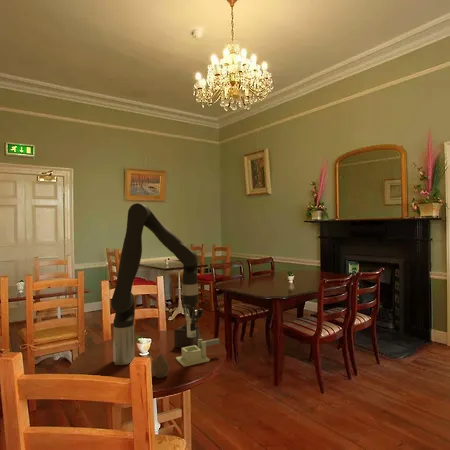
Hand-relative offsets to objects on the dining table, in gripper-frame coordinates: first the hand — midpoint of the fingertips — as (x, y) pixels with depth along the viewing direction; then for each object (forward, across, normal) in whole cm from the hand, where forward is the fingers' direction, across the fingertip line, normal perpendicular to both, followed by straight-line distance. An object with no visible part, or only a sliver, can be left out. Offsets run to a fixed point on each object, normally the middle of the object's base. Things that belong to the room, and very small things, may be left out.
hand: (191, 329), depth 169 cm
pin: (+9, 0, -9) cm, 13 cm away
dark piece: (+15, +21, -8) cm, 27 cm away
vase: (+15, -9, +18) cm, 25 cm away
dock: (+15, 0, 0) cm, 15 cm away
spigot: (+3, 0, 0) cm, 3 cm away
